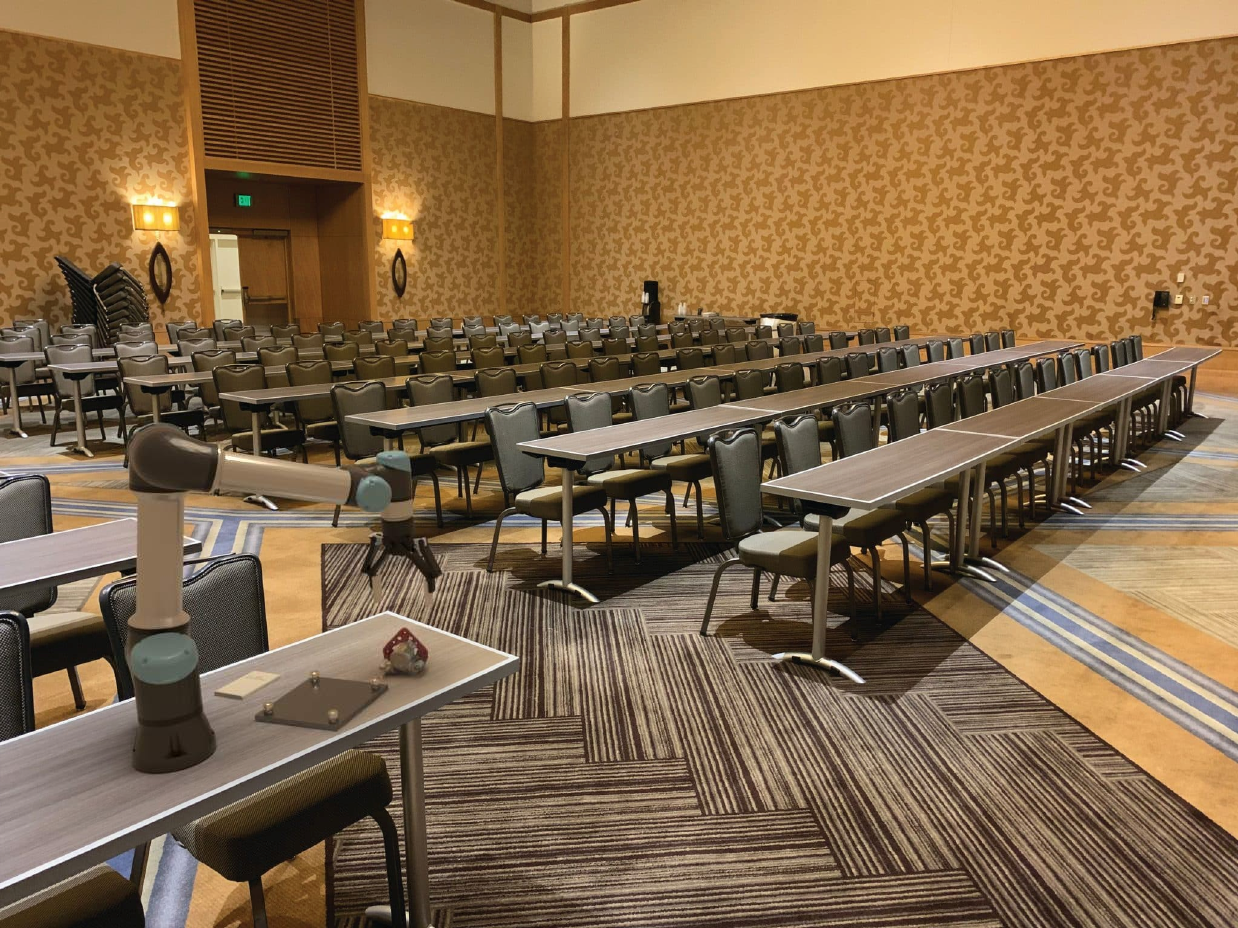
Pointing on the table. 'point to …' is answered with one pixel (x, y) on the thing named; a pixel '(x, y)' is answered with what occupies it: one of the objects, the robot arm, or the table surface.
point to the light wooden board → (247, 685)
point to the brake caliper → (403, 655)
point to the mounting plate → (322, 702)
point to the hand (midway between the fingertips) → (403, 603)
